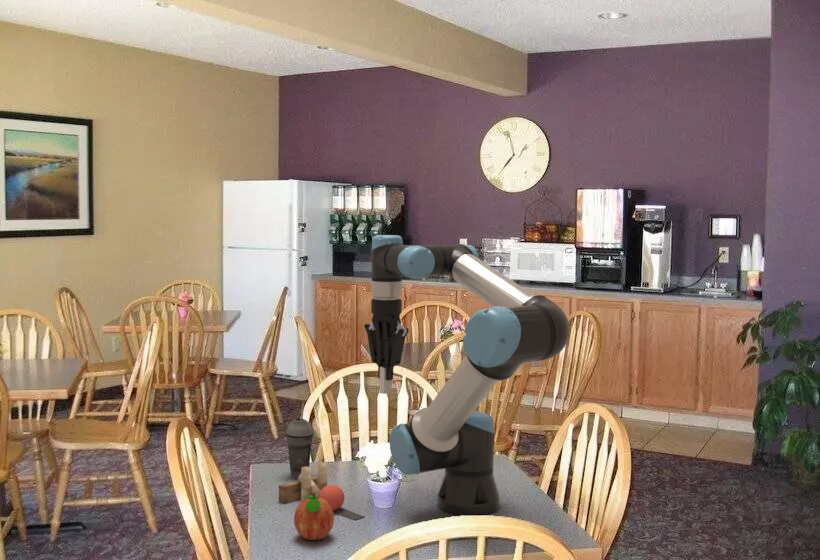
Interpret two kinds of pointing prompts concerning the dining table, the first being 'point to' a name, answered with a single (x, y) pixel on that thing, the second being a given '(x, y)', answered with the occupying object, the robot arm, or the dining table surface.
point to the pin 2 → (321, 475)
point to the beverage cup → (299, 444)
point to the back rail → (292, 490)
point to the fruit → (313, 518)
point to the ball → (332, 496)
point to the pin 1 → (305, 482)
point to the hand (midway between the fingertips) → (385, 392)
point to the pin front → (312, 487)
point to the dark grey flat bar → (348, 514)
